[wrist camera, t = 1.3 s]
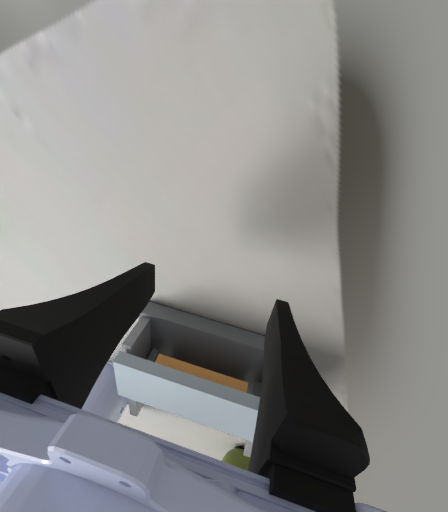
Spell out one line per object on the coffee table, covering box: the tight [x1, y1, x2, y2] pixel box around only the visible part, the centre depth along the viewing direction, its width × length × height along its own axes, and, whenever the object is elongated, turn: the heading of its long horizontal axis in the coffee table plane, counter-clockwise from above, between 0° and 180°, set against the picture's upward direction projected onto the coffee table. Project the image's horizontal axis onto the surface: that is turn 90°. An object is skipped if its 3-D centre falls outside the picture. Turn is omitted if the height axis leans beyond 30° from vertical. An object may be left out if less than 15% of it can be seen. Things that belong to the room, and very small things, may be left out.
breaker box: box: [122, 301, 265, 457], centre depth 24 cm, size 12×14×5 cm
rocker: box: [155, 354, 248, 393], centre depth 23 cm, size 7×10×1 cm
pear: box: [222, 448, 250, 471], centre depth 31 cm, size 6×5×10 cm
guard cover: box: [113, 351, 260, 442], centre depth 20 cm, size 5×13×1 cm, turn 81°
